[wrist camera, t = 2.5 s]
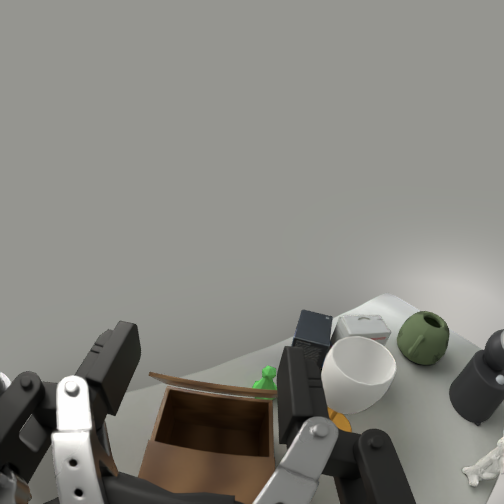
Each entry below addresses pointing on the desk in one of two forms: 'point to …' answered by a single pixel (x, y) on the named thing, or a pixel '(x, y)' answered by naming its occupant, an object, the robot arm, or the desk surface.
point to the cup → (355, 377)
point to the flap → (214, 387)
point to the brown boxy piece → (211, 444)
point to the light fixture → (481, 382)
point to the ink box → (360, 329)
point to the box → (313, 335)
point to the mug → (423, 338)
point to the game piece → (266, 381)
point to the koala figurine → (487, 465)
